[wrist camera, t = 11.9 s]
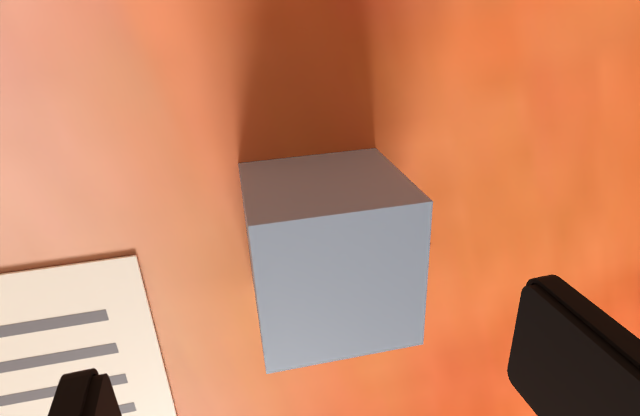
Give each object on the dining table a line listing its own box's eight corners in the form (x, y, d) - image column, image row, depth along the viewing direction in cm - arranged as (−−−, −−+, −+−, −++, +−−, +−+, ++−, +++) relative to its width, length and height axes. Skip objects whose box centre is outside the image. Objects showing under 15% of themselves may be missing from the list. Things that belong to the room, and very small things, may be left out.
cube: (374, 147, 17) (432, 201, 12) (374, 262, 19) (423, 344, 15) (237, 162, 16) (247, 226, 12) (253, 281, 18) (266, 374, 14)
